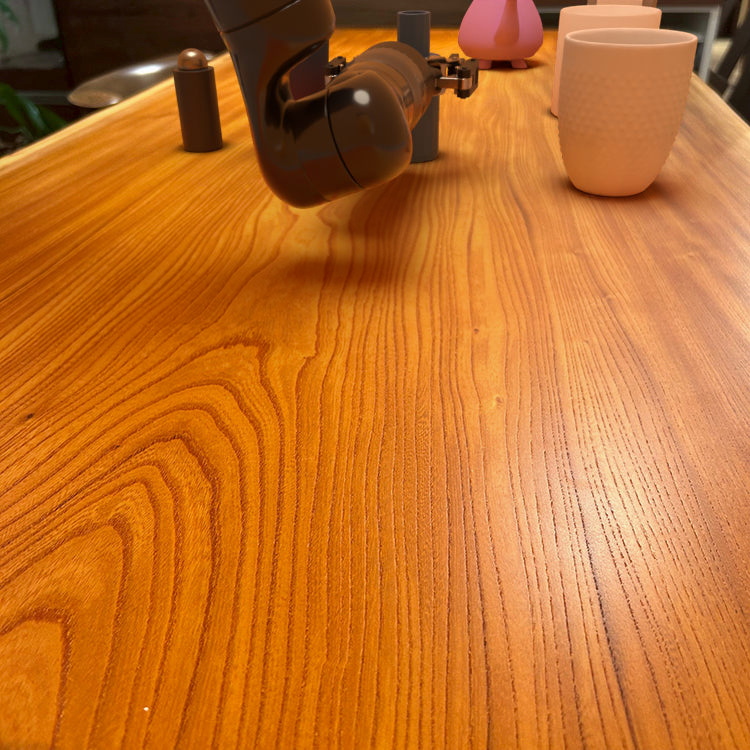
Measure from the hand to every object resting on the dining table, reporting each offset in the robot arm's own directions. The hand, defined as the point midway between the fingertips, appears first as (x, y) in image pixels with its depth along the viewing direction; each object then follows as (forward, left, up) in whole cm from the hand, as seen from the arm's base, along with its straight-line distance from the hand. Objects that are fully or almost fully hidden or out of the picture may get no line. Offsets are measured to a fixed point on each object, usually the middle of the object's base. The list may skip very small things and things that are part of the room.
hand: (413, 63), depth 80 cm
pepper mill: (-24, -1, -9) cm, 26 cm away
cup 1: (-12, -1, -9) cm, 15 cm away
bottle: (0, -1, -9) cm, 9 cm away
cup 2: (+20, +22, -9) cm, 31 cm away
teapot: (+5, +57, -9) cm, 58 cm away
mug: (+20, -8, -9) cm, 24 cm away
